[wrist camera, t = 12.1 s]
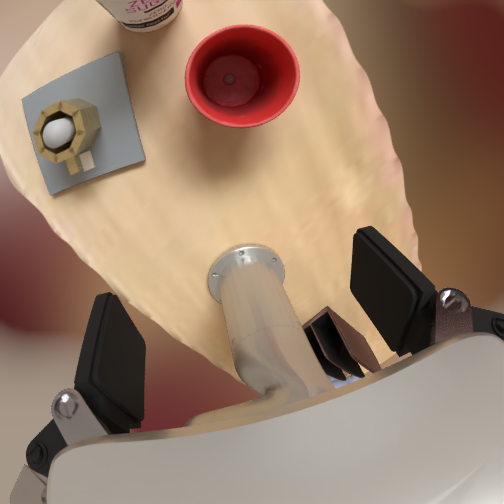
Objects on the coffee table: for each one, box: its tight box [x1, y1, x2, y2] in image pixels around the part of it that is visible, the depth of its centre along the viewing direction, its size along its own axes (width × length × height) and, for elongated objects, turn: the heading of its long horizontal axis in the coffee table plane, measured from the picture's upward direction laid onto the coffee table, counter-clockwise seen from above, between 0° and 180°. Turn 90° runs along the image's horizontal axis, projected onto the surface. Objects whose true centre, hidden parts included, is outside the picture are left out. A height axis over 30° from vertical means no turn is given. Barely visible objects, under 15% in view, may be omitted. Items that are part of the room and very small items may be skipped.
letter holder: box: [302, 306, 382, 381], centre depth 55 cm, size 10×20×14 cm, turn 43°
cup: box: [32, 98, 101, 175], centre depth 25 cm, size 9×7×6 cm
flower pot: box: [185, 25, 300, 128], centre depth 26 cm, size 11×11×10 cm
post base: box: [22, 52, 146, 196], centre depth 25 cm, size 15×15×8 cm
